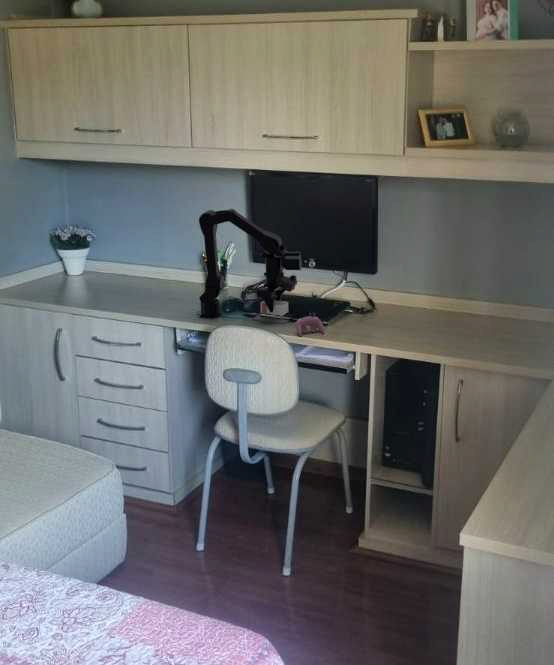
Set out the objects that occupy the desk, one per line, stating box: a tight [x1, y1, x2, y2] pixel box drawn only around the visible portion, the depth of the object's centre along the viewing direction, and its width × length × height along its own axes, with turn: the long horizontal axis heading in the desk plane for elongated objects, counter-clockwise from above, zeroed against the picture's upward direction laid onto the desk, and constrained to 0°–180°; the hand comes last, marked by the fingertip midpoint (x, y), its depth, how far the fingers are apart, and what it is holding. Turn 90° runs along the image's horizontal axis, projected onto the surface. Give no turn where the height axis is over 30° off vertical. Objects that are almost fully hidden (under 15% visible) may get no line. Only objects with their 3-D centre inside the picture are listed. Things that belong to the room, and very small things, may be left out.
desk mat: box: [252, 315, 290, 325], centre depth 329 cm, size 13×11×1 cm
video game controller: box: [294, 315, 325, 337], centre depth 311 cm, size 10×5×7 cm, turn 108°
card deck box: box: [260, 300, 289, 316], centre depth 328 cm, size 5×9×4 cm, turn 66°
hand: (274, 310), depth 328 cm, fingers closed on card deck box, 5 cm apart
